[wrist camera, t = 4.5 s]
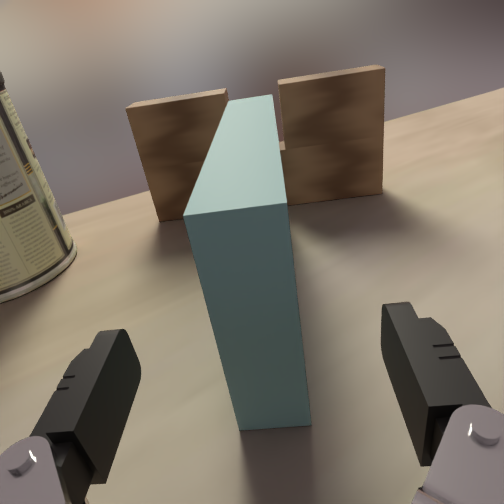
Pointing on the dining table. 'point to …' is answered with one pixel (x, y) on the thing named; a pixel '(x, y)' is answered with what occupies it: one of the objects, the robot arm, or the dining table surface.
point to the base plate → (291, 149)
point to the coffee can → (26, 213)
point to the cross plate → (250, 267)
